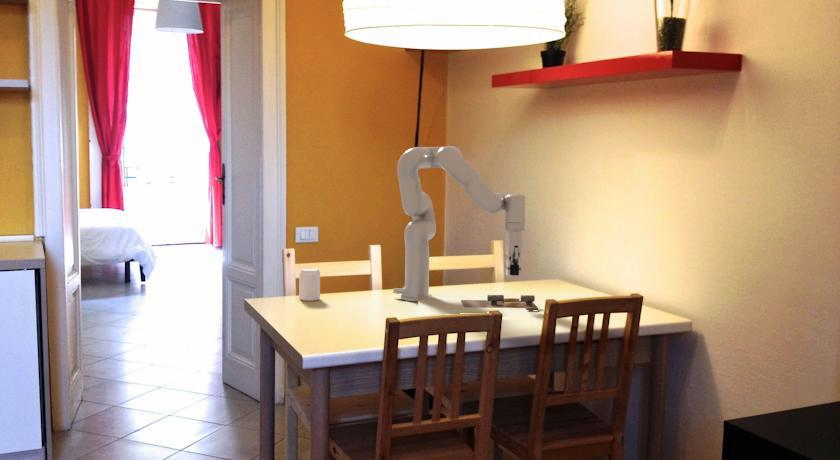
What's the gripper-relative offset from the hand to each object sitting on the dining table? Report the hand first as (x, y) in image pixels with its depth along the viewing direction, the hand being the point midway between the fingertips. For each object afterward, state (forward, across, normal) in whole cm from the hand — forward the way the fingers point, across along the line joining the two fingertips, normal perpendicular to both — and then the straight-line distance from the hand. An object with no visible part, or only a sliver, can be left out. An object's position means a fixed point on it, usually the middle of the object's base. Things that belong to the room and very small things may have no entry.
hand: (513, 273), depth 305 cm
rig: (+13, 0, -5) cm, 14 cm away
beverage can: (+13, -10, -78) cm, 80 cm away
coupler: (+1, 0, 0) cm, 1 cm away
